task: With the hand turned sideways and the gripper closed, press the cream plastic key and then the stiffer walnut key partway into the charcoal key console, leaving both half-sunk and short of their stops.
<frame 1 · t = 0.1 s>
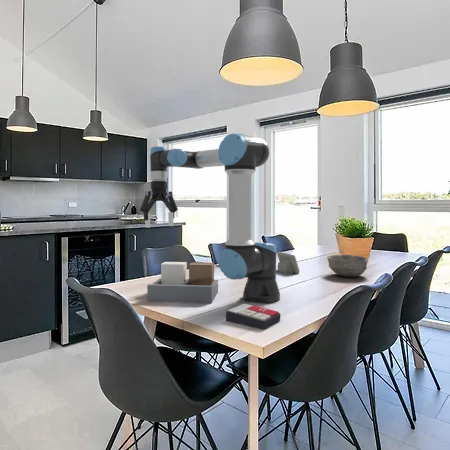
hand: (159, 226, 178), 28 cm above the table, tool pointing down, fingers open, 13 cm apart
key console: (184, 296, 160), on the table
calculator: (253, 322, 128), on the table
bowl: (347, 276, 201), on the table
cream key: (174, 275, 167), point 7 cm above the table, slide at 0.0 cm
grey lumpy piece: (288, 272, 213), on the table
walnut key: (201, 276, 166), point 7 cm above the table, slide at 0.0 cm
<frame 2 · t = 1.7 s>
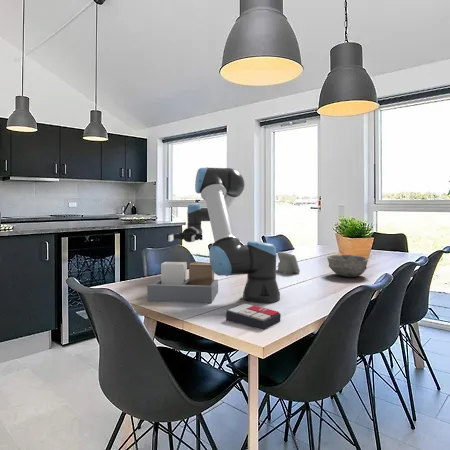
hand: (180, 238, 179), 22 cm above the table, tool horizontal, fingers open, 10 cm apart
nothing on the table moved.
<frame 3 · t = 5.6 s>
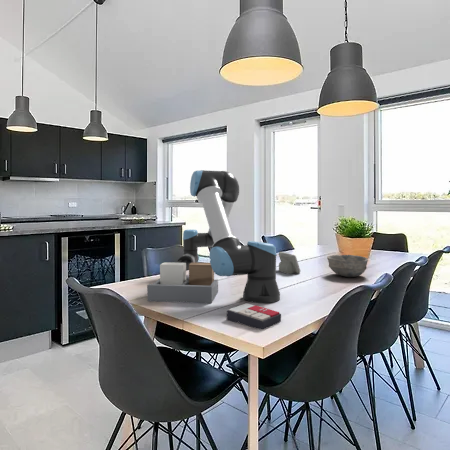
hand: (174, 271, 169), 9 cm above the table, tool horizontal, fingers closed
cream key: (173, 276, 165), point 7 cm above the table, slide at 1.6 cm, touching gripper
everything else where it was.
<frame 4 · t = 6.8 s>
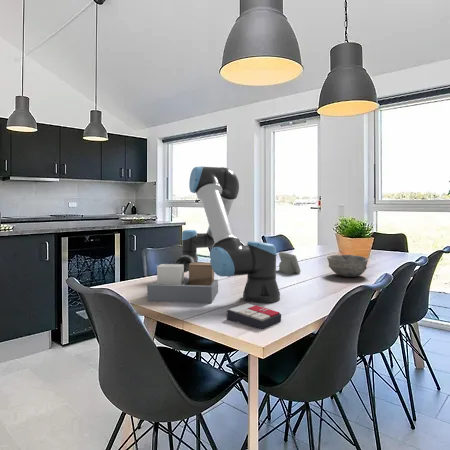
hand: (172, 272, 164), 9 cm above the table, tool horizontal, fingers closed
cream key: (170, 278, 161), point 7 cm above the table, slide at 5.8 cm, touching gripper
everything else where it was.
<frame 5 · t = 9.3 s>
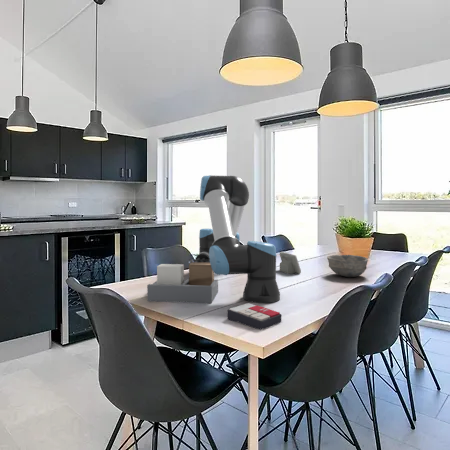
hand: (195, 267, 177), 9 cm above the table, tool horizontal, fingers closed
cream key: (170, 278, 161), point 7 cm above the table, slide at 5.8 cm
everything else where it was.
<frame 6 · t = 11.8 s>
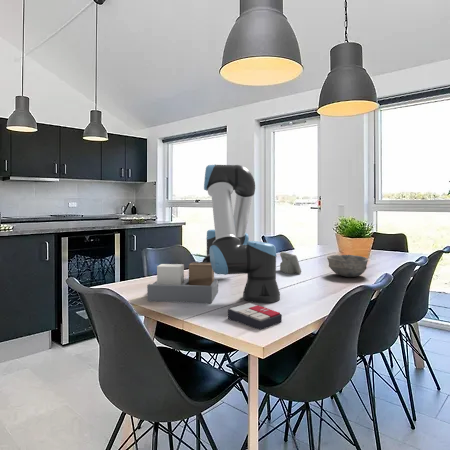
hand: (202, 271, 168), 9 cm above the table, tool horizontal, fingers closed
walnut key: (201, 276, 165), point 7 cm above the table, slide at 0.3 cm, touching gripper
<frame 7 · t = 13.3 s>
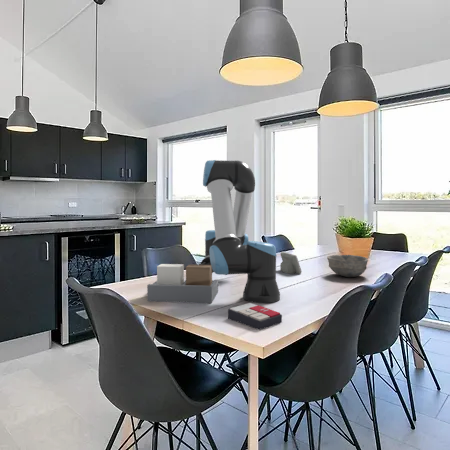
hand: (200, 273, 163), 9 cm above the table, tool horizontal, fingers closed
walnut key: (199, 278, 160), point 7 cm above the table, slide at 5.8 cm, touching gripper
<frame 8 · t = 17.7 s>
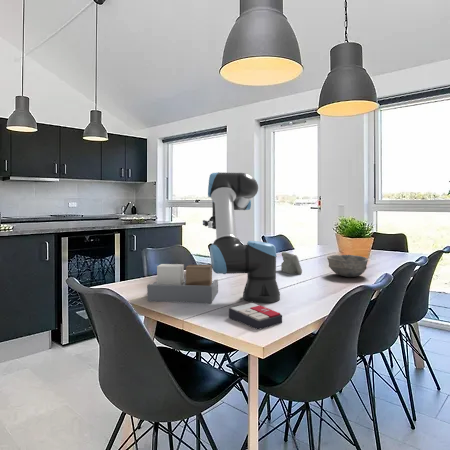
hand: (209, 224, 188), 28 cm above the table, tool horizontal, fingers closed
walnut key: (199, 278, 160), point 7 cm above the table, slide at 5.8 cm
at the end: cream key slide at 5.8 cm; walnut key slide at 5.8 cm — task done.
